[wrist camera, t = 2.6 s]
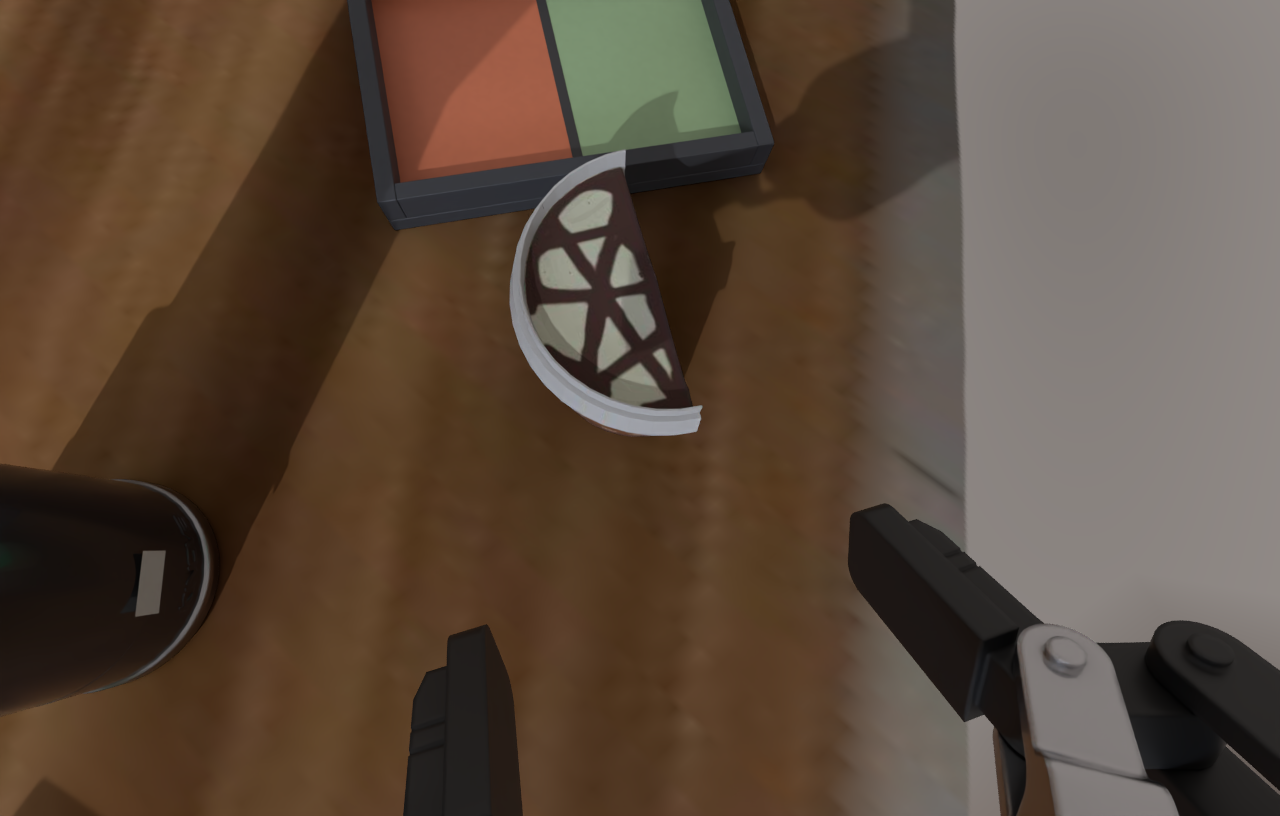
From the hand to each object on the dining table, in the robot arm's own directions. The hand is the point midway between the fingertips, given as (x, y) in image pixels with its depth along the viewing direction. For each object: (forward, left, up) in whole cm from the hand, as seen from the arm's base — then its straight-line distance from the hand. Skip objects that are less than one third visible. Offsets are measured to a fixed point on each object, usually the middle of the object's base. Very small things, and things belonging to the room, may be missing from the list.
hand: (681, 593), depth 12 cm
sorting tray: (+2, +29, -18) cm, 34 cm away
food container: (0, +11, -18) cm, 21 cm away
